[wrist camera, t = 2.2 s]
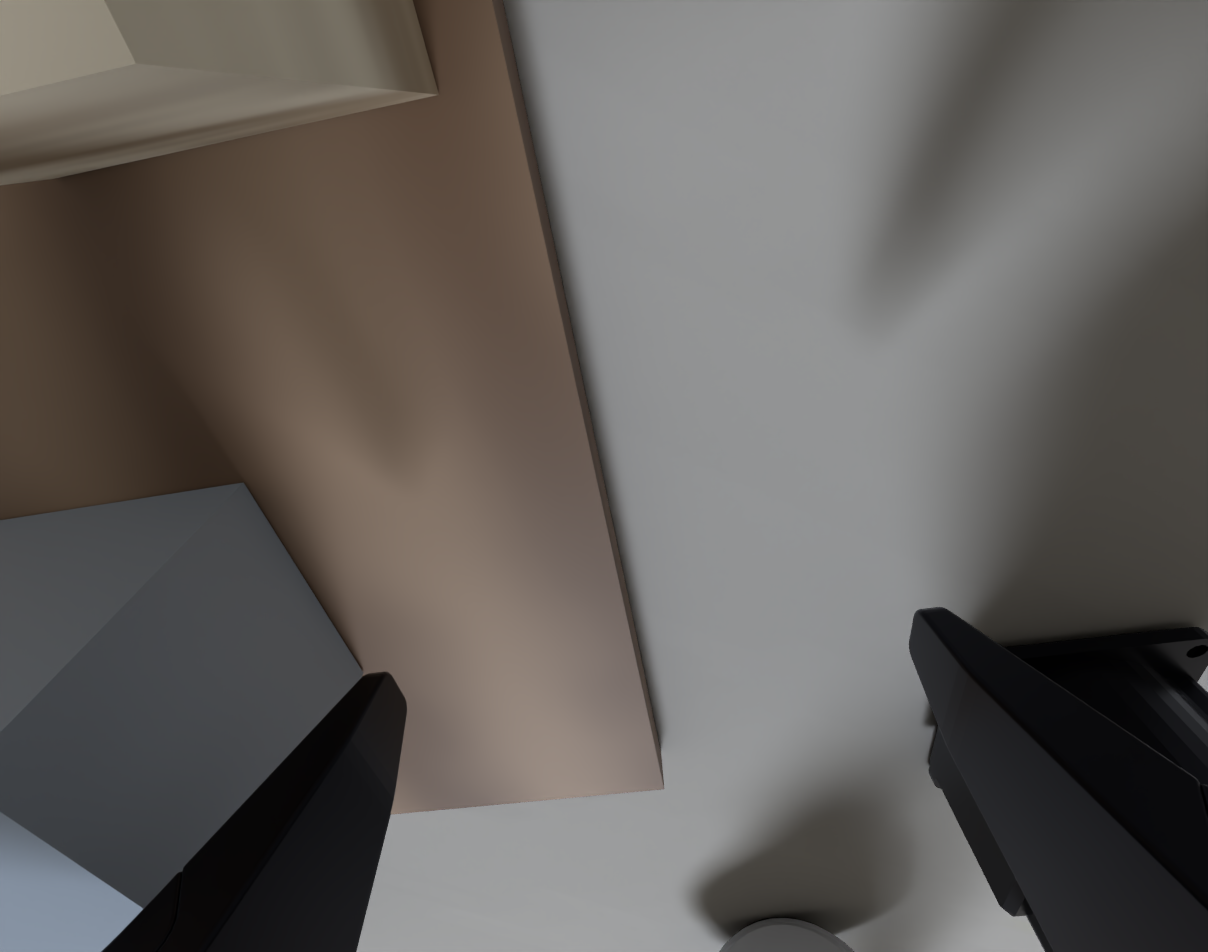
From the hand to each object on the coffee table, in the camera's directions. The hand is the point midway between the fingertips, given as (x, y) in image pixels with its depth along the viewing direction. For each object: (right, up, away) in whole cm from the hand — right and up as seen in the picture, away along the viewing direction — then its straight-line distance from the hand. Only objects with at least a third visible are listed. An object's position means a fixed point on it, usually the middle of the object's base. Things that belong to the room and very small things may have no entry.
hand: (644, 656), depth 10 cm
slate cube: (-10, 0, +4) cm, 11 cm away
